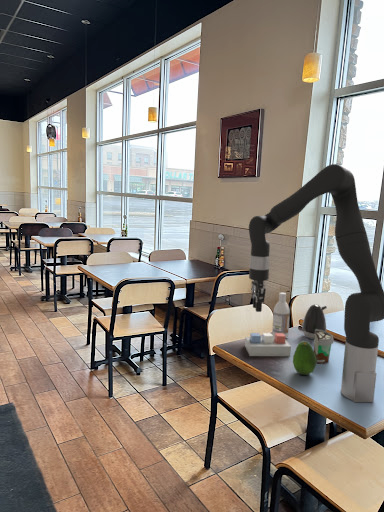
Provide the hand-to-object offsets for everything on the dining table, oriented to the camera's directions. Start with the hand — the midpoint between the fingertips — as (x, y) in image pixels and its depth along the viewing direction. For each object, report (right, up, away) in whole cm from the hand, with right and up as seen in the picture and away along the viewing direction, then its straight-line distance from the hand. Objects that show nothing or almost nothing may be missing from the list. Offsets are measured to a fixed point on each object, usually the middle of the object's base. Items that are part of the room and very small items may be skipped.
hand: (257, 309), depth 146 cm
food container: (+25, -19, -4) cm, 32 cm away
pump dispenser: (+29, -16, +19) cm, 38 cm away
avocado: (+14, -21, -16) cm, 30 cm away
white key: (+5, -15, +2) cm, 16 cm away
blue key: (0, -15, +2) cm, 15 cm away
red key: (+10, -15, +3) cm, 18 cm away
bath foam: (+14, -15, +19) cm, 28 cm away
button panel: (+5, -17, +3) cm, 18 cm away
